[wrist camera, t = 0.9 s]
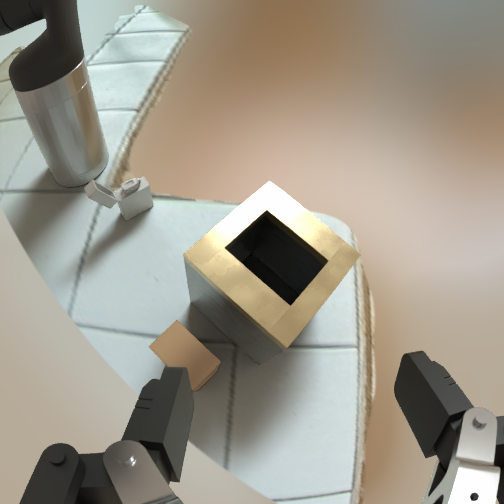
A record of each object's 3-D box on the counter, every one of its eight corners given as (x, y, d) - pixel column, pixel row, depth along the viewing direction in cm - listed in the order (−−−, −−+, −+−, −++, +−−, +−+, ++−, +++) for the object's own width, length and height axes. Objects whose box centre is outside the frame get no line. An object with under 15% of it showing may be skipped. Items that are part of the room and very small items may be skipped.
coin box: (190, 301, 33) (183, 254, 22) (251, 244, 37) (269, 181, 27) (259, 364, 31) (287, 347, 20) (315, 299, 35) (360, 254, 25)
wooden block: (166, 361, 30) (148, 346, 21) (185, 341, 31) (177, 319, 22) (197, 391, 29) (192, 390, 20) (217, 371, 30) (221, 361, 21)
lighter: (148, 196, 38) (139, 154, 31) (154, 205, 38) (145, 163, 31) (100, 222, 36) (82, 184, 29) (105, 232, 35) (86, 194, 28)
